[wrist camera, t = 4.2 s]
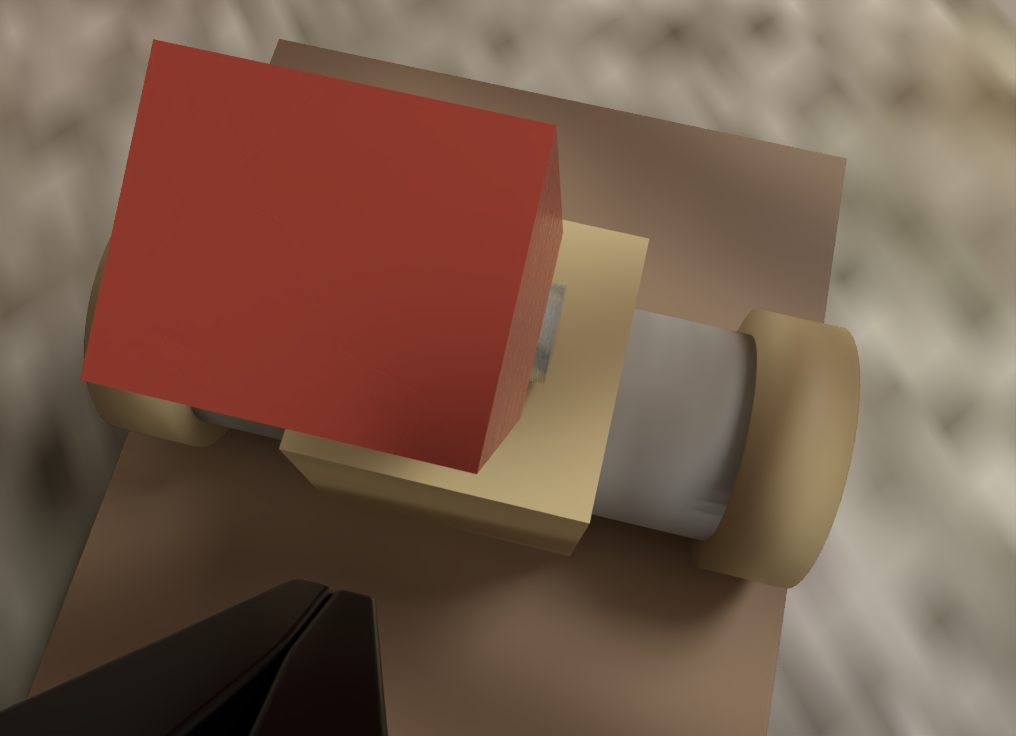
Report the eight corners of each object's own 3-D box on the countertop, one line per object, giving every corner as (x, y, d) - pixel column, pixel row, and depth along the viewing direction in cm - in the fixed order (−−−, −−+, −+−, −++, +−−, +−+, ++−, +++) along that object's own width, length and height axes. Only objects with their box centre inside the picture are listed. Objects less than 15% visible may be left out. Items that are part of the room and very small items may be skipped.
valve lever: (542, 400, 15) (491, 477, 6) (381, 362, 16) (66, 375, 6) (571, 271, 15) (571, 127, 6) (408, 235, 16) (137, 35, 6)
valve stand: (727, 891, 18) (826, 982, 13) (49, 713, 19) (-131, 726, 13) (829, 184, 23) (931, 32, 18) (289, 69, 24) (228, -110, 18)
